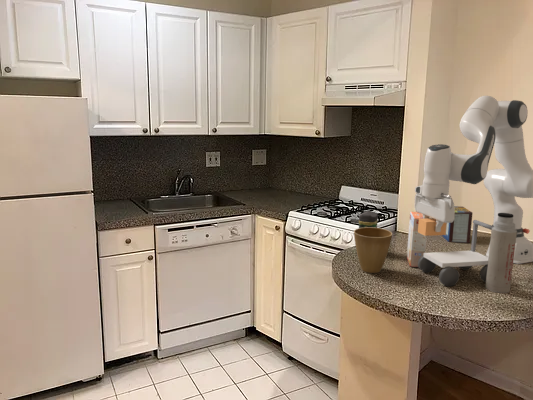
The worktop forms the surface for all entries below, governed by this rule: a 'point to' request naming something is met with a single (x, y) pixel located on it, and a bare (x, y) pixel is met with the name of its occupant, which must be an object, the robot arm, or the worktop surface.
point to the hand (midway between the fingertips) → (432, 229)
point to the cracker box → (415, 240)
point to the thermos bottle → (501, 254)
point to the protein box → (459, 226)
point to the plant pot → (372, 247)
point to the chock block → (430, 227)
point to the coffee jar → (368, 219)
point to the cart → (456, 260)
